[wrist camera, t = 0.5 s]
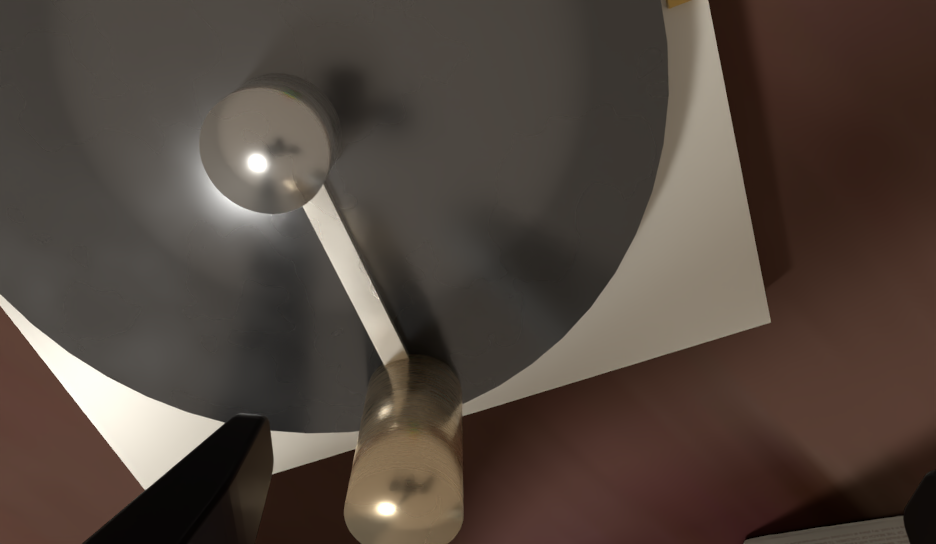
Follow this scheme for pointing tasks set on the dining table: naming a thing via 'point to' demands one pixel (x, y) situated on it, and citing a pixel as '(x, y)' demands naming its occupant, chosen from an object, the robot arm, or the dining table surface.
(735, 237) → the base plate
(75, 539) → the dining table surface
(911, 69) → the dining table surface
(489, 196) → the handwheel
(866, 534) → the supplement box
